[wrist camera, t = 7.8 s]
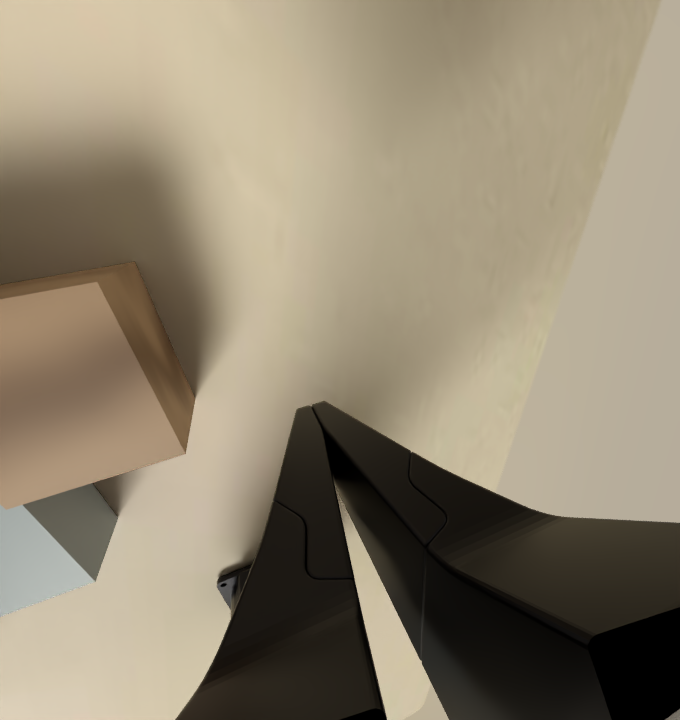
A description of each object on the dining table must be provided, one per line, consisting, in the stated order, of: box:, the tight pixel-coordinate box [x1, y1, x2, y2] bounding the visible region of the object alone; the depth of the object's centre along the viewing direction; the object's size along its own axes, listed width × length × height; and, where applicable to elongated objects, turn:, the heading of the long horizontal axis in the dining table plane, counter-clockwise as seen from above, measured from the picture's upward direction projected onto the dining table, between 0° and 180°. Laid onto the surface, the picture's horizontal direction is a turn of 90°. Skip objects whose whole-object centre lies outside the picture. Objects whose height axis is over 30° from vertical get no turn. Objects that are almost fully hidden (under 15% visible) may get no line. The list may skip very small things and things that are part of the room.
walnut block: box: [0, 262, 195, 510], centre depth 13 cm, size 8×7×5 cm
